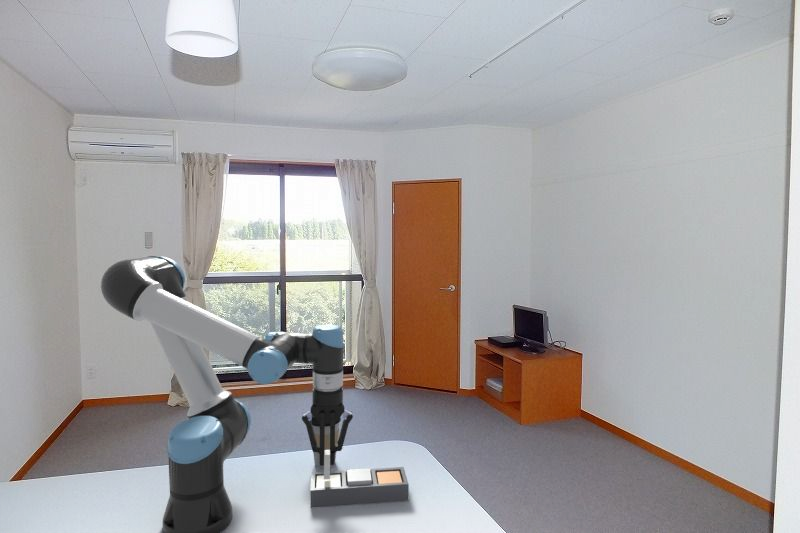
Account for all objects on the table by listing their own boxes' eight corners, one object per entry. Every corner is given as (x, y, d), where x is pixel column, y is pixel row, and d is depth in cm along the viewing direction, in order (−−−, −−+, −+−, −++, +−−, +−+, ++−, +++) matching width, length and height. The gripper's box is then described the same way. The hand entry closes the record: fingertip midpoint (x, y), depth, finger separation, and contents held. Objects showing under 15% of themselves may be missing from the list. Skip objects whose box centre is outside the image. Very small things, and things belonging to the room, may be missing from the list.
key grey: (347, 489, 126) (347, 481, 126) (347, 476, 132) (347, 469, 132) (371, 487, 127) (371, 480, 127) (369, 475, 133) (369, 468, 132)
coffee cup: (338, 471, 141) (338, 420, 140) (305, 470, 142) (304, 419, 140) (343, 455, 151) (342, 407, 149) (311, 455, 151) (311, 406, 149)
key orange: (378, 491, 127) (378, 484, 127) (376, 479, 133) (376, 472, 133) (402, 490, 128) (402, 482, 128) (399, 478, 134) (399, 470, 134)
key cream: (316, 495, 125) (316, 488, 125) (317, 483, 131) (316, 475, 131) (340, 494, 126) (340, 486, 126) (340, 481, 132) (340, 474, 132)
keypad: (310, 507, 124) (310, 490, 123) (311, 488, 132) (311, 472, 132) (408, 500, 127) (408, 484, 127) (403, 482, 136) (403, 466, 135)
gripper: (300, 392, 121) (300, 485, 123) (354, 391, 123) (353, 483, 125) (302, 382, 129) (301, 470, 131) (353, 381, 130) (351, 468, 133)
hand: (326, 476), depth 128 cm, fingers closed
